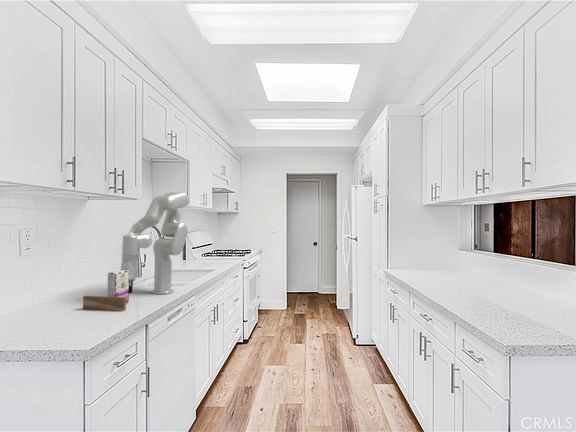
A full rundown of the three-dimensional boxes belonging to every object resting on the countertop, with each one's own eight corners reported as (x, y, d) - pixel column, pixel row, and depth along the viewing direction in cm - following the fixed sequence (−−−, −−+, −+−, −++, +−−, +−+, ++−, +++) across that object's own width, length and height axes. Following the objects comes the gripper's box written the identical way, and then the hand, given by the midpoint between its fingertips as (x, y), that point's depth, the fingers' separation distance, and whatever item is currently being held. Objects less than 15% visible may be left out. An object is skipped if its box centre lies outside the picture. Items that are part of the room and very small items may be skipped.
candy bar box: (120, 301, 209) (121, 270, 209) (128, 302, 208) (129, 270, 208) (106, 306, 198) (107, 272, 198) (115, 306, 197) (116, 273, 197)
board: (85, 308, 193) (85, 295, 193) (125, 310, 191) (126, 297, 191) (82, 309, 191) (83, 296, 191) (123, 310, 189) (123, 297, 189)
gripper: (129, 256, 222) (128, 290, 222) (115, 259, 208) (114, 295, 207) (143, 257, 222) (142, 291, 221) (129, 259, 207) (128, 295, 207)
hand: (128, 293), depth 214 cm, fingers closed
